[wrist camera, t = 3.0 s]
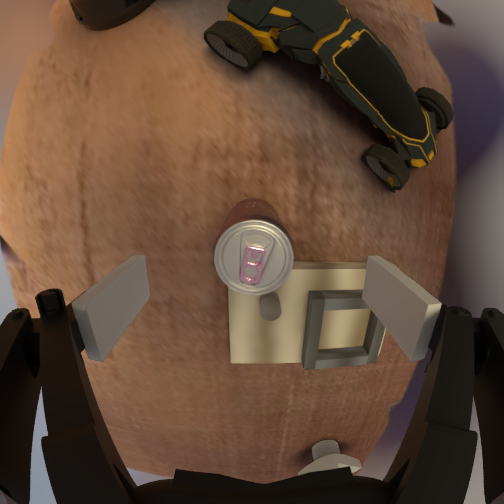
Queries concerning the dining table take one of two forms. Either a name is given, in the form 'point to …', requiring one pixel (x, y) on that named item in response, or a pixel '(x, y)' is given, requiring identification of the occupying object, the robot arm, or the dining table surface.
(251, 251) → the beverage can
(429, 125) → the toy car
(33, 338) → the robot arm
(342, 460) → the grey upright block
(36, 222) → the dining table surface
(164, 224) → the dining table surface
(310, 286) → the board
